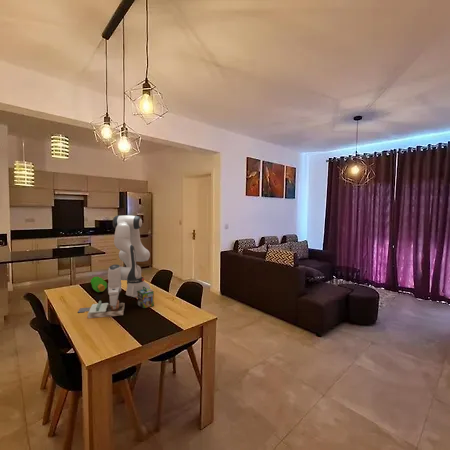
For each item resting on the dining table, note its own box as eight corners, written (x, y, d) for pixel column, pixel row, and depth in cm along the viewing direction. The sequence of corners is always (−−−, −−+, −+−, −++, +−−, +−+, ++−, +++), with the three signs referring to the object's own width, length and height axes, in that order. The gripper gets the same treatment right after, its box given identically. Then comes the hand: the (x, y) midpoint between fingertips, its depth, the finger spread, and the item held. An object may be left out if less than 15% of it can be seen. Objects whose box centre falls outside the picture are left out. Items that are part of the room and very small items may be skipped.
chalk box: (154, 305, 202) (154, 287, 200) (142, 309, 195) (142, 289, 194) (148, 302, 208) (148, 284, 207) (137, 305, 202) (137, 286, 201)
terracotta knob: (119, 308, 192) (119, 299, 191) (118, 311, 186) (118, 302, 186) (111, 309, 190) (110, 299, 190) (110, 312, 185) (109, 303, 184)
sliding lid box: (124, 307, 197) (124, 302, 197) (123, 315, 183) (122, 311, 182) (92, 310, 190) (91, 305, 190) (87, 319, 176) (87, 314, 176)
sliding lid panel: (108, 303, 193) (108, 299, 193) (105, 312, 179) (105, 307, 179) (92, 305, 190) (92, 300, 190) (88, 313, 176) (88, 309, 176)
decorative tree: (98, 280, 220) (89, 271, 243) (93, 293, 218) (84, 283, 241) (111, 283, 227) (102, 274, 250) (106, 296, 226) (97, 285, 248)
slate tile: (90, 308, 194) (90, 307, 194) (88, 312, 187) (88, 311, 187) (80, 309, 192) (80, 308, 192) (77, 312, 185) (77, 312, 185)
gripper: (111, 283, 196) (111, 301, 197) (108, 293, 176) (108, 313, 178) (120, 283, 197) (120, 301, 199) (118, 292, 178) (118, 312, 179)
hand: (114, 306), depth 188 cm, fingers closed on terracotta knob, 5 cm apart
